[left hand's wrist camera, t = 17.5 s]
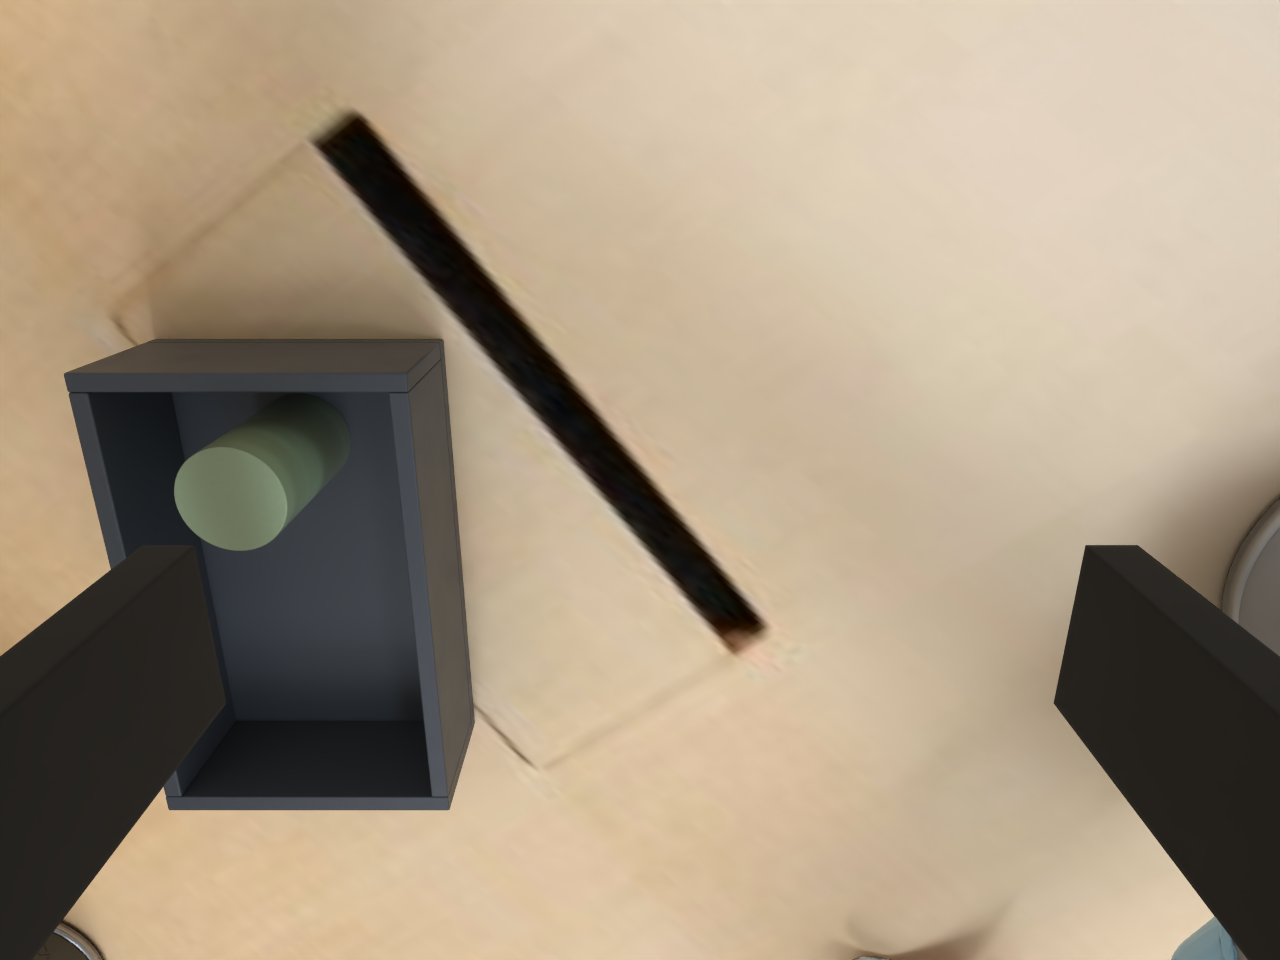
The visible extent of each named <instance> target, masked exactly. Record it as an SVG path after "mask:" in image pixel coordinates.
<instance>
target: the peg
mask: <svg viewBox="0 0 1280 960" xmlns="http://www.w3.org/2000/svg"><path fill="white" fill-rule="evenodd" d="M350 450H351V437H350V432H349V429H348V426H347V424H346V422H345V420H344V419H343V417H342V416H341V415H340V413H339V412H338V411H337V410H336V409H335V408H334V407H333V406H331V405H330V404H329V403H327V402H325V401H324V400H322V399H320V398H317V397H314V396H311V395H306V394H291V395H286V396H283V397H280V398H279V399H277V400H275V401H273V402H272V403H270V404H269V405H267V406H266V407H264V408H263V409H261V410H260V411H258V412H257V413H255V414H254V415H252V416H251V417H249V418H248V419H246V420H245V421H243V422H242V423H240V424H239V425H237V426H236V427H234V428H233V429H231V430H230V431H228V432H227V433H225V434H224V435H222V436H221V437H219V438H218V439H216V440H215V441H213V442H212V443H210V444H209V445H207V446H206V447H204V448H203V449H201V450H200V451H198V452H197V453H195V454H194V455H192V456H191V457H190V458H188V459H187V460H186V461H185V462H184V464H183V465H182V466H181V468H180V470H179V472H178V474H177V477H176V480H175V486H174V496H175V502H176V505H177V508H178V511H179V513H180V515H181V517H182V518H183V520H184V521H185V523H186V524H187V525H188V527H189V528H190V529H191V530H192V531H193V532H194V533H195V534H197V535H198V536H199V537H200V538H202V539H203V540H205V541H207V542H208V543H210V544H212V545H215V546H217V547H220V548H223V549H228V550H235V551H245V550H252V549H256V548H259V547H262V546H264V545H266V544H268V543H269V542H270V541H272V540H273V539H274V538H275V537H276V536H277V535H278V534H279V533H280V532H281V531H282V530H283V529H284V528H285V527H286V526H287V525H288V524H289V523H290V522H291V521H292V520H293V519H294V518H295V517H296V516H297V514H298V513H299V512H300V511H301V510H302V509H303V508H304V507H305V506H306V505H307V504H308V503H309V502H310V501H311V500H312V499H313V498H314V497H315V496H316V495H317V494H318V493H319V492H320V491H321V490H322V488H323V487H324V486H325V485H326V484H327V483H328V482H329V481H330V480H331V479H332V478H333V477H334V476H335V475H336V474H337V473H338V472H339V471H340V470H341V469H342V467H343V466H344V465H345V463H346V462H347V460H348V457H349V455H350Z"/></svg>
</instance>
